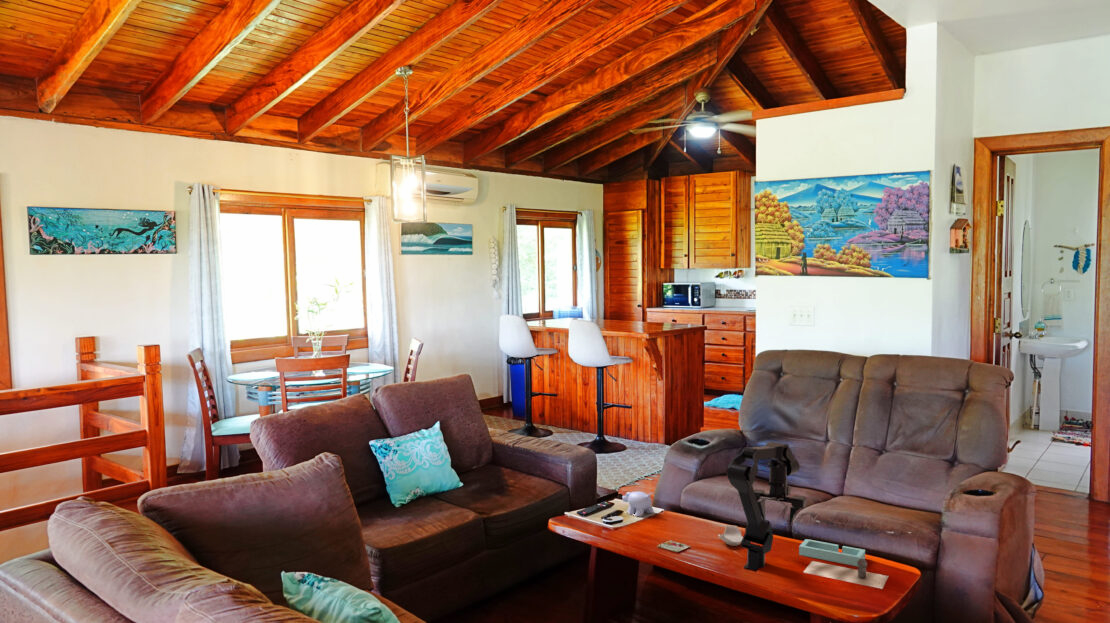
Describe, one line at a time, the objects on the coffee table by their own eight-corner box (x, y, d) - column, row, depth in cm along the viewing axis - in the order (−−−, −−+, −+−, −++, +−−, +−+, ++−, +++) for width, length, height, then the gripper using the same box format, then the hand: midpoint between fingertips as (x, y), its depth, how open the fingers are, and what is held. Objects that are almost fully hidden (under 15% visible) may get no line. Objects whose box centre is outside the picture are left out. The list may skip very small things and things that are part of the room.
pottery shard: (724, 549, 265) (724, 535, 265) (710, 539, 276) (710, 526, 276) (750, 547, 268) (750, 533, 267) (735, 537, 278) (735, 524, 278)
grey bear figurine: (632, 505, 318) (632, 483, 318) (659, 513, 307) (659, 490, 307) (615, 510, 311) (615, 488, 310) (642, 518, 300) (642, 495, 299)
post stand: (888, 579, 238) (888, 557, 238) (882, 591, 228) (882, 569, 228) (812, 563, 251) (812, 543, 251) (803, 575, 241) (803, 554, 241)
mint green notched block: (865, 561, 254) (865, 549, 254) (859, 569, 246) (860, 557, 246) (805, 549, 265) (805, 538, 265) (799, 557, 257) (799, 546, 257)
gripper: (811, 477, 259) (810, 521, 259) (758, 470, 269) (758, 512, 269) (803, 484, 249) (802, 530, 250) (748, 476, 259) (748, 520, 260)
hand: (777, 522), depth 257 cm, fingers open, 9 cm apart
